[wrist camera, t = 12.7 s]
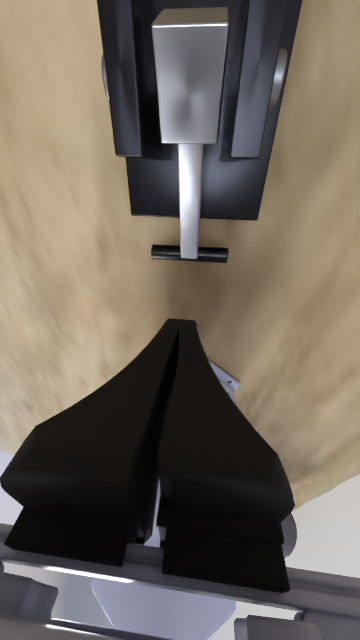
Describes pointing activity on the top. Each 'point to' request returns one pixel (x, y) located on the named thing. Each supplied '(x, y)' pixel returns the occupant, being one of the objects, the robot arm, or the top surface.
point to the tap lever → (190, 110)
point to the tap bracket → (236, 114)
